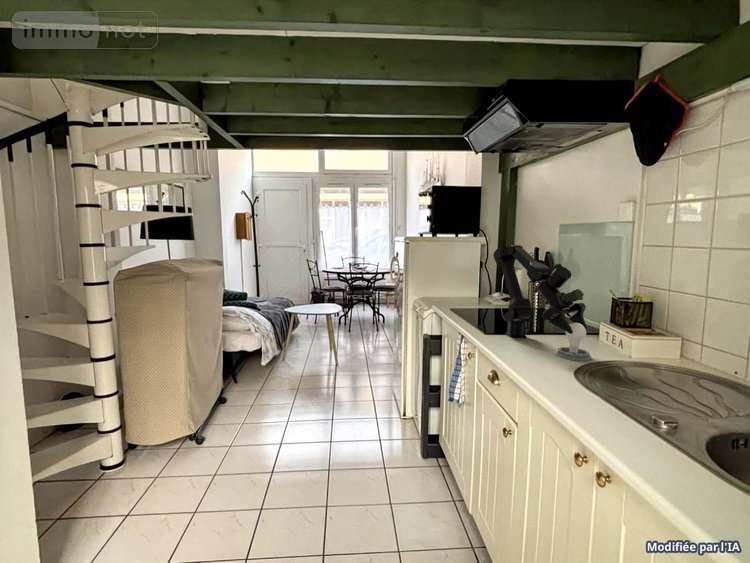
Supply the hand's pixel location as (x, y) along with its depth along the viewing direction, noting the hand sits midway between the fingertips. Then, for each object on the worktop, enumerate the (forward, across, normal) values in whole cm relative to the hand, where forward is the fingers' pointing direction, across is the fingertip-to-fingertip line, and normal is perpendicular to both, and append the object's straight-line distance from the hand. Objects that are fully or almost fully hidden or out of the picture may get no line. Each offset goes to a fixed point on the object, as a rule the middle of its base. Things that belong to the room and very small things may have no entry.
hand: (579, 331), depth 136 cm
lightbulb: (+5, 0, +7) cm, 9 cm away
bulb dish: (+5, 0, +7) cm, 9 cm away
